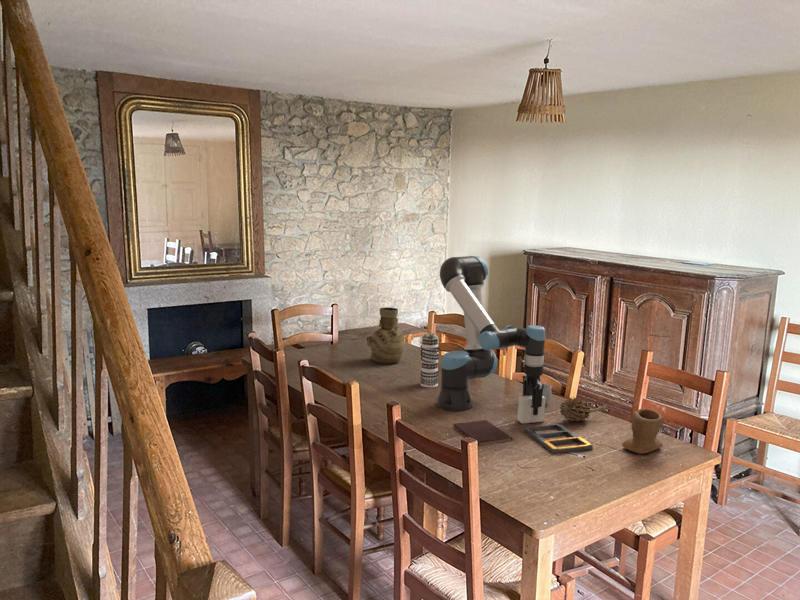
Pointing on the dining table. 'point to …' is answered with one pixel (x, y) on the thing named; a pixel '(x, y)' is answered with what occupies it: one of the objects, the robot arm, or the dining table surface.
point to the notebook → (483, 432)
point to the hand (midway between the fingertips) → (530, 419)
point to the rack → (550, 443)
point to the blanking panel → (529, 409)
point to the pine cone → (577, 409)
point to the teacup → (547, 392)
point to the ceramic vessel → (387, 338)
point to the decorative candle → (429, 360)
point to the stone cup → (644, 431)
